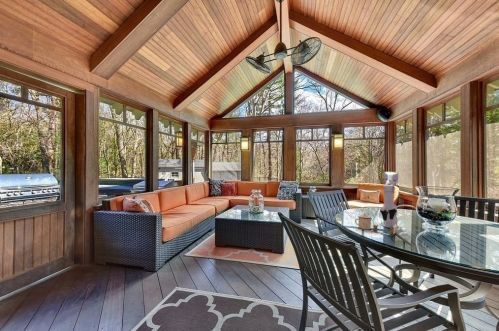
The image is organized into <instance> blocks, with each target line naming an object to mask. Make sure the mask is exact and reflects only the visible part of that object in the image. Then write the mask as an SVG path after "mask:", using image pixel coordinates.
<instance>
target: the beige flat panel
mask: <svg viewBox="0 0 499 331" xmlns="http://www.w3.org/2000/svg"><path fill="white" fill-rule="evenodd" d="M397 226H398V227H399V225H398V224H397V225H394V226H393V227H394V232H393V235H394V234H396V233H397V232H398V227H397Z"/></svg>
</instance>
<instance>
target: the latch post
mask: <svg viewBox="0 0 499 331" xmlns="http://www.w3.org/2000/svg"><path fill="white" fill-rule="evenodd" d="M378 226H379V225H378V224H373V225H372V231H373V232H375V233H378V232H377V231H378Z"/></svg>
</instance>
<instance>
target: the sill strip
mask: <svg viewBox="0 0 499 331" xmlns="http://www.w3.org/2000/svg"><path fill="white" fill-rule="evenodd" d="M376 233H380V234H383V235H385V236H387V235H388V236H390V233H385V232H382V231H379V230H377V232H376Z"/></svg>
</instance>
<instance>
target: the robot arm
mask: <svg viewBox="0 0 499 331" xmlns="http://www.w3.org/2000/svg"><path fill="white" fill-rule="evenodd" d="M383 178H384V180H383V181H384V183H385V184H384V185H383V198H384V200H383V206H382V207H380V210H379V212H380V214H381V217H382V220H383V221H384V224H381V226H383V227H386V228H389V229H390V227H391V226H394V225H398V220H399V218H398V217H397V216H398V206H397V205H396V204H395V203H394V195H395V185H396V184H398V182H399V172H398V171H384V173H383ZM398 227H399V225H398V226H397V228H398Z"/></svg>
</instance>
